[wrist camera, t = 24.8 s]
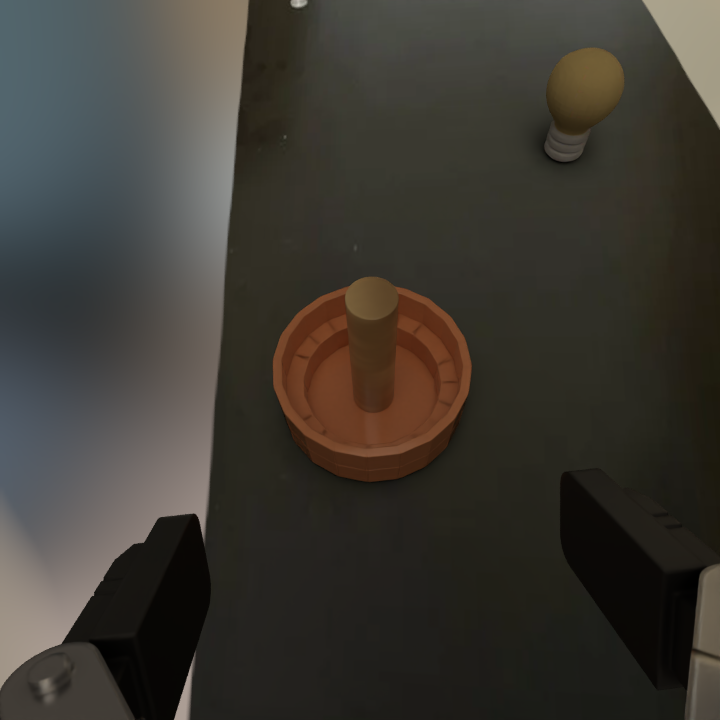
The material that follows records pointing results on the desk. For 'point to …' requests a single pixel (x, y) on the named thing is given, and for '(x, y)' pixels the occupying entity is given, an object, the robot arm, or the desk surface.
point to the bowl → (336, 400)
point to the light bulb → (580, 99)
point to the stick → (372, 341)
